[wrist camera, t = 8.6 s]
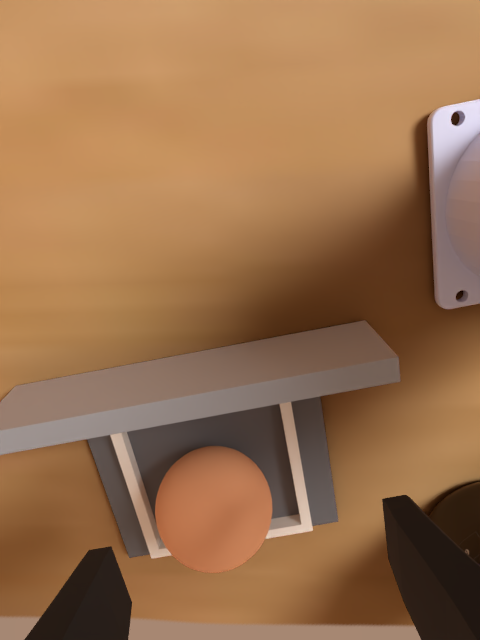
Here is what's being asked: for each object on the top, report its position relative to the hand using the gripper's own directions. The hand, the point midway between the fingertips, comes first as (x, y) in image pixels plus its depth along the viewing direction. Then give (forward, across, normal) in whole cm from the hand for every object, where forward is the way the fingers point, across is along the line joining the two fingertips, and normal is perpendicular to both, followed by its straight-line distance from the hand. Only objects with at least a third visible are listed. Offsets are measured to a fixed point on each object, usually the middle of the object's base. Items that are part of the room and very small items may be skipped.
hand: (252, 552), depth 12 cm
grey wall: (+9, +2, -2) cm, 10 cm away
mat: (+9, +2, +4) cm, 10 cm away
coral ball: (+6, +2, +4) cm, 8 cm away
